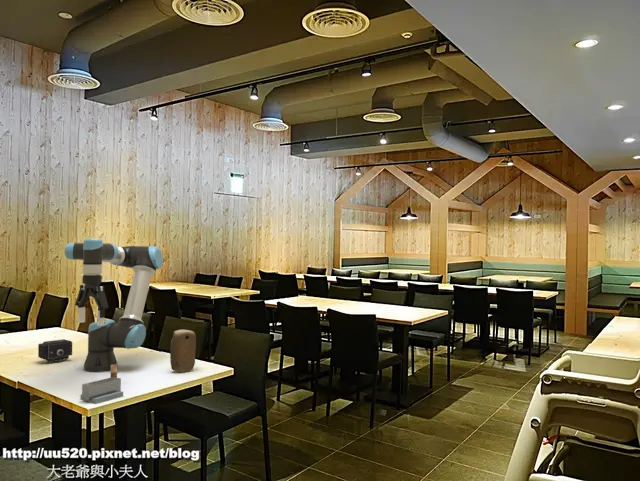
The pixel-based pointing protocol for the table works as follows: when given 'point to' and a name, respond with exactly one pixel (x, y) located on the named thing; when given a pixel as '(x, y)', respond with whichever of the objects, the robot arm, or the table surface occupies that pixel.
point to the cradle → (105, 397)
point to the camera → (55, 350)
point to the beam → (113, 371)
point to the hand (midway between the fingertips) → (91, 324)
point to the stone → (183, 350)
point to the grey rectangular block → (101, 388)
